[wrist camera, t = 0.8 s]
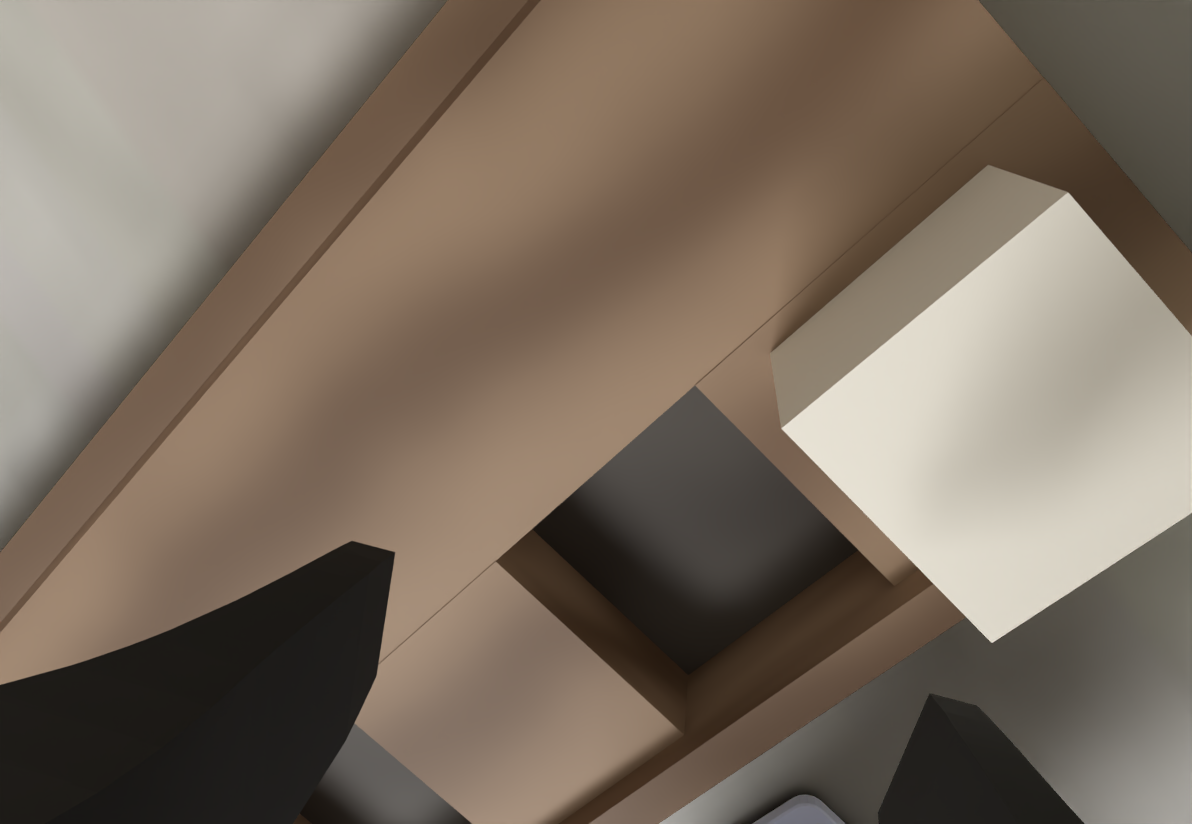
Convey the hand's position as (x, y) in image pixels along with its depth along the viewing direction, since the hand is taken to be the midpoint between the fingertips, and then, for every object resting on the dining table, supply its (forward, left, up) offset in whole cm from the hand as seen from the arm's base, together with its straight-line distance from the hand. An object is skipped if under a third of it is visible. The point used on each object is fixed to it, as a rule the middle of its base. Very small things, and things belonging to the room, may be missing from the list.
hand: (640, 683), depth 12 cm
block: (-2, -6, -7) cm, 9 cm away
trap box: (+1, +6, -10) cm, 12 cm away
